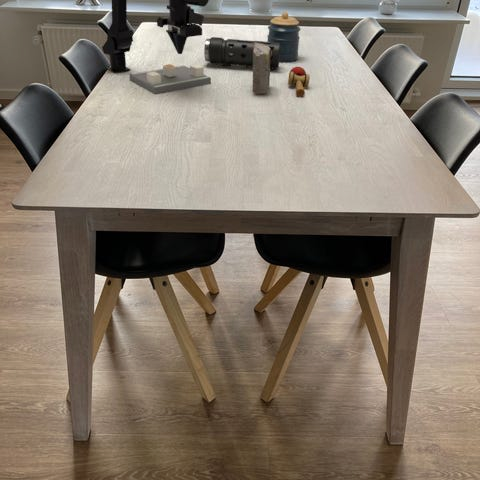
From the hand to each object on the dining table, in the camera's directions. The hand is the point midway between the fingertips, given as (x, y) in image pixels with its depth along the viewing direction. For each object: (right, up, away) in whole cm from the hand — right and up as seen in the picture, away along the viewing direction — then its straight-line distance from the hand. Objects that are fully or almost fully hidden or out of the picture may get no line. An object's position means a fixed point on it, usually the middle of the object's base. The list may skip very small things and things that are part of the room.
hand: (179, 53), depth 171 cm
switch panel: (-5, -6, +11) cm, 13 cm away
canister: (+37, +13, +42) cm, 57 cm away
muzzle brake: (+21, +5, +29) cm, 36 cm away
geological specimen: (+27, -11, +6) cm, 29 cm away
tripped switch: (-5, -4, +9) cm, 11 cm away
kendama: (+40, -9, +9) cm, 42 cm away
